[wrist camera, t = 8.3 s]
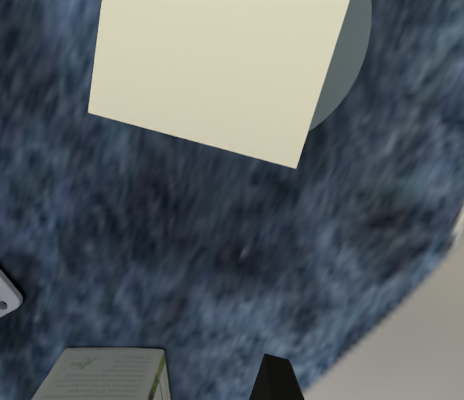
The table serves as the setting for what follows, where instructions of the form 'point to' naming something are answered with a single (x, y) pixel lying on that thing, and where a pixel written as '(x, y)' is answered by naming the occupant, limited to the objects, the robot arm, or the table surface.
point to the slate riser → (345, 59)
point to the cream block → (217, 70)
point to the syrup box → (107, 375)
